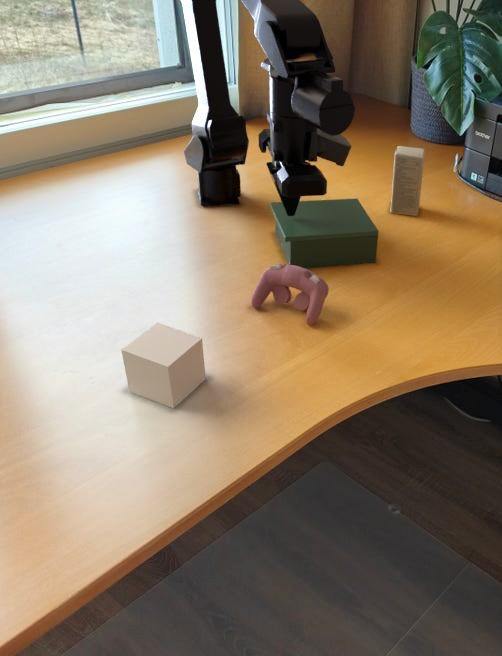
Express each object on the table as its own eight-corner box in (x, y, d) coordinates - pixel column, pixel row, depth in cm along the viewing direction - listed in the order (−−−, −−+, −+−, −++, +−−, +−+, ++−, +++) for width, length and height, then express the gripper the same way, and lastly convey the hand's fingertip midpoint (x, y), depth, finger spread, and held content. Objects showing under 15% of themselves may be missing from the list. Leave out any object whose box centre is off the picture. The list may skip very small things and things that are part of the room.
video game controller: (324, 324, 92) (336, 276, 91) (311, 327, 88) (323, 276, 87) (261, 305, 94) (271, 257, 93) (246, 307, 90) (256, 256, 88)
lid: (285, 242, 97) (285, 237, 96) (270, 207, 105) (269, 202, 104) (378, 235, 102) (378, 231, 101) (357, 202, 110) (357, 198, 109)
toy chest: (290, 269, 100) (290, 241, 97) (275, 233, 108) (275, 206, 105) (375, 263, 105) (378, 235, 102) (355, 229, 113) (356, 203, 110)
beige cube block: (205, 378, 78) (202, 338, 75) (173, 408, 74) (168, 367, 70) (163, 362, 80) (157, 322, 76) (128, 391, 75) (121, 349, 71)
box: (419, 207, 123) (427, 148, 116) (417, 217, 119) (424, 157, 113) (391, 202, 123) (397, 144, 116) (388, 212, 119) (394, 152, 113)
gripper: (366, 135, 87) (358, 240, 97) (330, 90, 101) (326, 187, 110) (282, 136, 83) (283, 245, 93) (256, 89, 97) (259, 190, 106)
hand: (290, 215), depth 101 cm, fingers closed
